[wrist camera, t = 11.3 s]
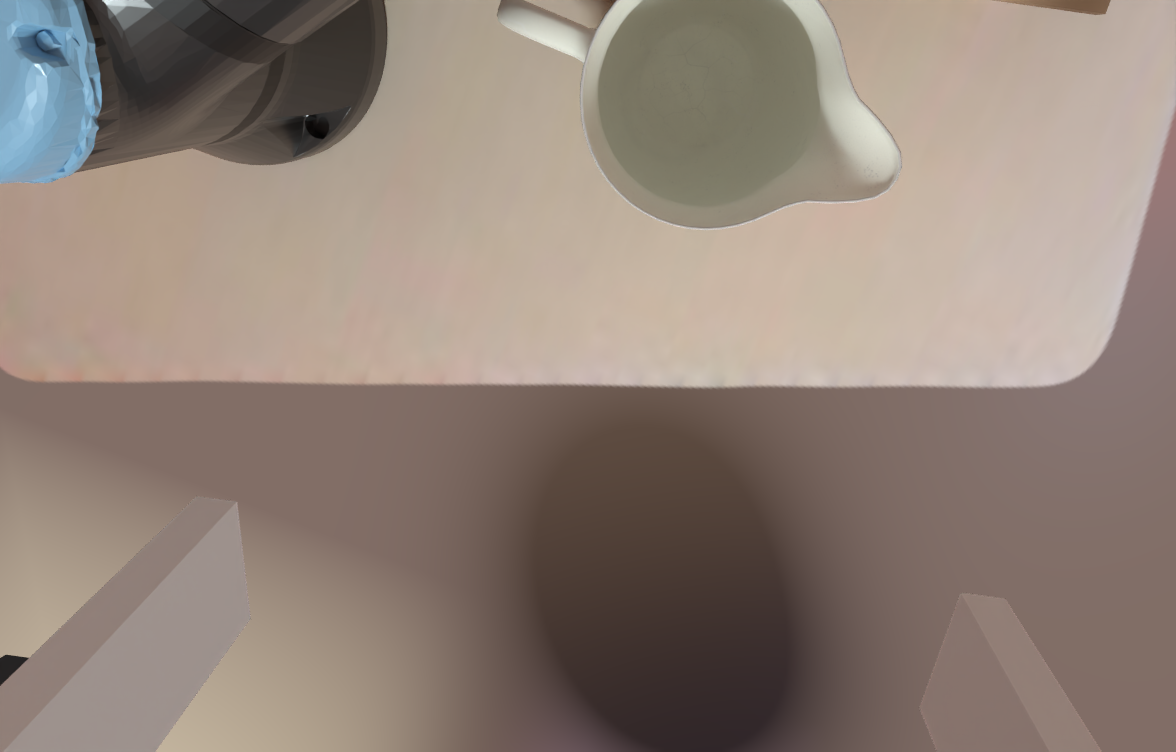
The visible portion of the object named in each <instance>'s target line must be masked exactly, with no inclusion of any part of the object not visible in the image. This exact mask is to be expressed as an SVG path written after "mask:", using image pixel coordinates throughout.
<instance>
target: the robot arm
mask: <svg viewBox="0 0 1176 752" xmlns="http://www.w3.org/2000/svg"><path fill="white" fill-rule="evenodd" d="M386 46H387V30H386V18H385V10H384V5H383V0H0V184H1V183H14V182H22V183H25V182H29V183H41V182H42V183H49V182H53V181H55V180H57V179H59V178H63V177H67V176H70V175H71V174H73V173H75V172H80V171H85V170H90V169H94V168H99V167H104V166H109V165H114V164H119V163H123V162H128V161H133V160H138V159H143V158H147V157H152V156H157V155H162V154H167V153H171V152H176V151H181V150H186V149H191V148H193V149H196V150H199V151H201V152H204V153H207V154H210V155H212V156H215V157H218V158H221V159H224V160H228V161H231V162H236V163H242V164H250V165H275V164H283V163H287V162H292V161H295V160H299V159H302V158H306V157H309V156H313V155H315V154H318V153H320V152H322V151H324V150H326V149H328V148H330V147H332V146H333V145H335V144H336V143H338V142H339V141H341V140H342V139H343V138H344V137H345V136H347V135H348V134H349V133H350V132H351V131H352V130H353V129H354V128H355V127H356V126H357V124H358V123H359V122H360V121H361V119H362V118H363V117H364V115H365V114H366V112H367V111H368V109H369V107H370V105H371V103H372V101H373V99H374V97H375V95H376V93H377V90H378V87H379V84H380V81H381V78H382V74H383V69H384V64H385V57H386ZM249 620H250V610H249V601H248V593H247V584H246V575H245V567H244V559H243V551H242V541H241V532H240V524H239V515H238V506H237V501H230V500H221V499H214V498H205V497H198V496H197V497H196V498H194V499H193V500H192V501H191V502H190V503H189V504H188V505H187V506H186V507H185V508H184V509H183V510H182V511H181V512H180V513H179V514H178V515H177V516H176V517H175V518H174V519H172V520H171V521H170V522H169V523H168V524H167V525H166V526H165V528H163V529H162V530H161V531H160V532H159V533H158V534H157V535H156V536H155V537H154V538H153V539H152V540H151V541H150V542H149V543H148V544H147V545H146V546H145V547H144V548H143V549H141V550H140V551H139V553H137V554H136V555H135V556H134V557H133V558H132V559H131V560H130V561H129V562H128V563H127V564H126V565H125V566H124V567H123V568H122V569H121V570H120V571H119V572H118V573H117V574H116V575H115V576H114V577H112V578H111V579H110V580H109V581H108V582H107V583H106V584H105V585H104V586H103V587H102V588H101V589H100V590H99V591H98V592H97V593H96V594H95V595H94V596H93V597H92V598H91V599H90V600H89V601H88V602H87V603H86V604H85V605H84V606H83V607H81V608H80V609H79V610H78V611H77V612H76V614H74V615H73V616H72V617H71V618H70V619H69V620H68V621H67V622H66V623H65V624H64V625H63V626H62V627H61V628H60V629H59V630H58V631H57V632H56V633H55V634H53V636H52V637H50V638H49V639H48V641H46V642H45V643H44V644H43V645H42V646H41V647H40V648H39V649H38V650H37V651H36V652H35V653H34V654H33V655H32V656H31V657H30V658H26V657H18V656H11V655H5V656H3V657H1V658H0V752H155V751H156V750H157V749H158V747H159V745H160V744H161V743H162V741H163V740H164V739H165V737H166V736H167V735H168V733H169V732H170V730H171V729H172V728H173V726H174V725H175V723H176V722H177V721H178V719H179V718H180V716H181V715H182V714H183V712H184V711H185V709H186V708H187V707H188V705H189V704H190V702H191V701H192V700H193V698H194V697H195V696H196V694H197V693H198V691H199V690H200V688H201V687H202V686H203V684H204V683H205V682H206V680H207V679H208V677H209V676H210V675H211V673H212V672H213V670H214V669H215V668H216V666H217V665H218V663H219V662H220V661H221V659H222V658H223V656H224V655H225V654H226V652H227V651H228V649H229V648H230V647H231V645H232V644H233V643H234V641H235V640H236V638H237V637H238V635H239V634H240V633H241V631H242V630H243V628H244V627H245V626H246V624H247V623H248V622H249ZM919 708H920V710H921V713H922V716H923V718H924V721H925V723H926V726H927V728H928V731H929V733H930V735H931V738H932V741H933V743H934V746H935V749H936V751H937V752H1102V751H1101V750H1100V748H1099V747H1098V745H1097V743H1096V742H1095V740H1094V739H1093V737H1092V736H1091V734H1090V732H1089V731H1088V729H1087V728H1086V726H1085V724H1084V723H1083V721H1082V720H1081V718H1080V716H1079V715H1078V713H1077V712H1076V710H1075V709H1074V707H1073V705H1072V704H1071V702H1070V701H1069V699H1068V698H1067V696H1066V694H1065V693H1064V691H1063V690H1062V688H1061V686H1060V685H1059V683H1058V682H1057V680H1056V678H1055V677H1054V675H1053V674H1052V672H1051V671H1050V669H1049V667H1048V666H1047V664H1046V663H1045V661H1044V660H1043V658H1042V656H1041V655H1040V653H1039V652H1038V650H1037V648H1036V647H1035V645H1034V644H1033V642H1032V641H1031V639H1030V637H1029V636H1028V634H1027V633H1026V631H1025V629H1024V628H1023V626H1022V625H1021V623H1020V621H1019V620H1018V618H1017V617H1016V615H1015V614H1014V612H1013V610H1012V609H1011V607H1010V606H1009V604H1008V602H1007V601H1006V599H1004V598H997V597H989V596H981V595H974V594H966V593H961V594H960V597H959V599H958V602H957V605H956V608H955V610H954V613H953V616H952V619H951V621H950V624H949V627H948V630H947V633H946V635H945V638H944V641H943V644H942V647H941V649H940V652H939V655H938V657H937V660H936V663H935V666H934V669H933V671H932V674H931V677H930V680H929V682H928V685H927V688H926V691H925V693H924V696H923V699H922V702H921V705H920V707H919Z"/></svg>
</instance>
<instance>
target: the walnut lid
mask: <svg viewBox="0 0 1176 752" xmlns="http://www.w3.org/2000/svg"><path fill="white" fill-rule="evenodd" d="M994 1H1001V2H1008V3H1016V4H1023V5H1030V6H1037V7H1044V8H1051V9H1058V10H1065V11H1072V12H1079V13H1087V14H1094V15H1100V14H1106V11H1107V8H1108V6H1109V3H1110V0H994Z"/></svg>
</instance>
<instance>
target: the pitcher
mask: <svg viewBox="0 0 1176 752" xmlns="http://www.w3.org/2000/svg"><path fill="white" fill-rule="evenodd" d="M497 17H498V20H499V22H500V23H501V24H503V25H504V26H506V27H507V28H509V29H511V30H512V31H514V32H516V33H519V34H521V35H523V36H525V37H527V38H530V39H532V40H534V41H536V42H539V43H541V44H543V45H546V46H548V47H551V48H553V49H555V50H558V51H560V52H563V53H565V54H568V55H570V56H573V57H575V58H577V59H578V60H580V61H581V62H582V63H584V65H583V71H582V78H581V85H580V109H581V120H582V125H583V129H584V134H585V138H586V141H587V144H588V146H589V149H590V152H591V154H592V156H593V158H594V160H595V162H596V164H597V166H598V168H599V170H600V171H601V173H602V174H603V176H604V177H605V179H606V180H607V182H608V183H609V184H610V185H611V186H612V187H613V188H614V190H615V191H616V192H617V193H618V194H619V195H620V196H621V197H622V198H624V199H625V200H626V201H627V202H628V203H629V204H630V205H632V206H633V207H635V208H636V209H638V210H639V211H641V212H642V213H644V214H646V215H648V216H650V217H652V218H654V219H656V220H658V221H661V222H664V223H667V224H670V225H673V226H678V227H682V228H687V229H698V230H715V229H725V228H731V227H736V226H740V225H743V224H746V223H750V222H753V221H755V220H758V219H760V218H762V217H765V216H767V215H769V214H772V213H774V212H776V211H779V210H781V209H783V208H786V207H789V206H793V205H796V204H801V203H806V202H812V203H852V202H860V201H865V200H870V199H875V198H877V197H878V196H880V195H882V194H884V193H885V192H887V191H889V190H890V188H891V187H892V186H893V184H894V183H895V182H896V181H897V179H898V176H899V173H900V171H901V168H902V161H901V151H900V150H899V148H898V146H897V144H896V142H895V140H894V138H893V136H892V135H891V133H890V132H889V131H888V130H887V128H886V127H885V126H884V124H883V123H882V122H881V121H880V119H879V118H878V117H877V116H876V115H875V114H874V113H873V112H872V111H871V109H870V108H869V107H868V106H867V105H866V104H865V103H864V102H863V101H862V100H861V99H860V98H859V96H858V94H857V93H856V91H855V89H854V87H853V84H852V81H851V79H850V76H849V73H848V69H847V65H846V61H845V57H844V53H843V50H842V46H841V42H840V39H839V37H838V34H837V32H836V29H835V26H834V24H833V22H832V20H831V19H830V17H829V15H828V13H827V11H826V10H825V8H824V6H823V5H822V4H821V3H820V1H819V0H616V1H615V2H614V4H613V5H612V6H611V8H610V9H609V10H608V12H607V13H606V14H605V16H604V18H603V19H602V21H601V23H600V24H599V26H598V28H597V29H592V28H588V27H585V26H583V25H581V24H578V23H576V22H574V21H571V20H569V19H567V18H564V17H562V16H560V15H557V14H555V13H552V12H550V11H548V10H545V9H543V8H541V7H538V6H536V5H533V4H531V3H529V2H526V1H524V0H501V2H500V5H499V8H498V13H497Z"/></svg>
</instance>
